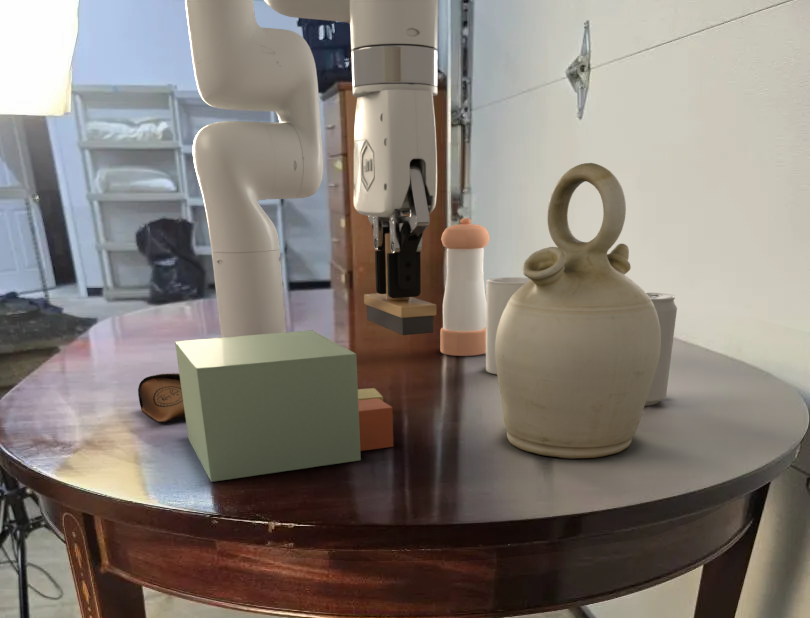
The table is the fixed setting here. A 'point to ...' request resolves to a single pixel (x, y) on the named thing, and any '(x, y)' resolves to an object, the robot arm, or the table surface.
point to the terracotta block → (375, 424)
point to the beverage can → (663, 344)
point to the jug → (577, 336)
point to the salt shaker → (464, 290)
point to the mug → (497, 311)
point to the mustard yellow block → (369, 394)
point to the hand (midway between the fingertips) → (398, 293)
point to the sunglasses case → (162, 397)
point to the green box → (269, 403)
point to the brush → (400, 309)
